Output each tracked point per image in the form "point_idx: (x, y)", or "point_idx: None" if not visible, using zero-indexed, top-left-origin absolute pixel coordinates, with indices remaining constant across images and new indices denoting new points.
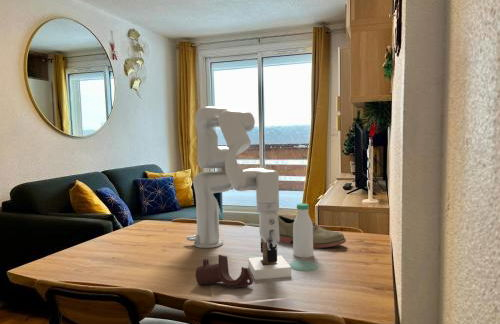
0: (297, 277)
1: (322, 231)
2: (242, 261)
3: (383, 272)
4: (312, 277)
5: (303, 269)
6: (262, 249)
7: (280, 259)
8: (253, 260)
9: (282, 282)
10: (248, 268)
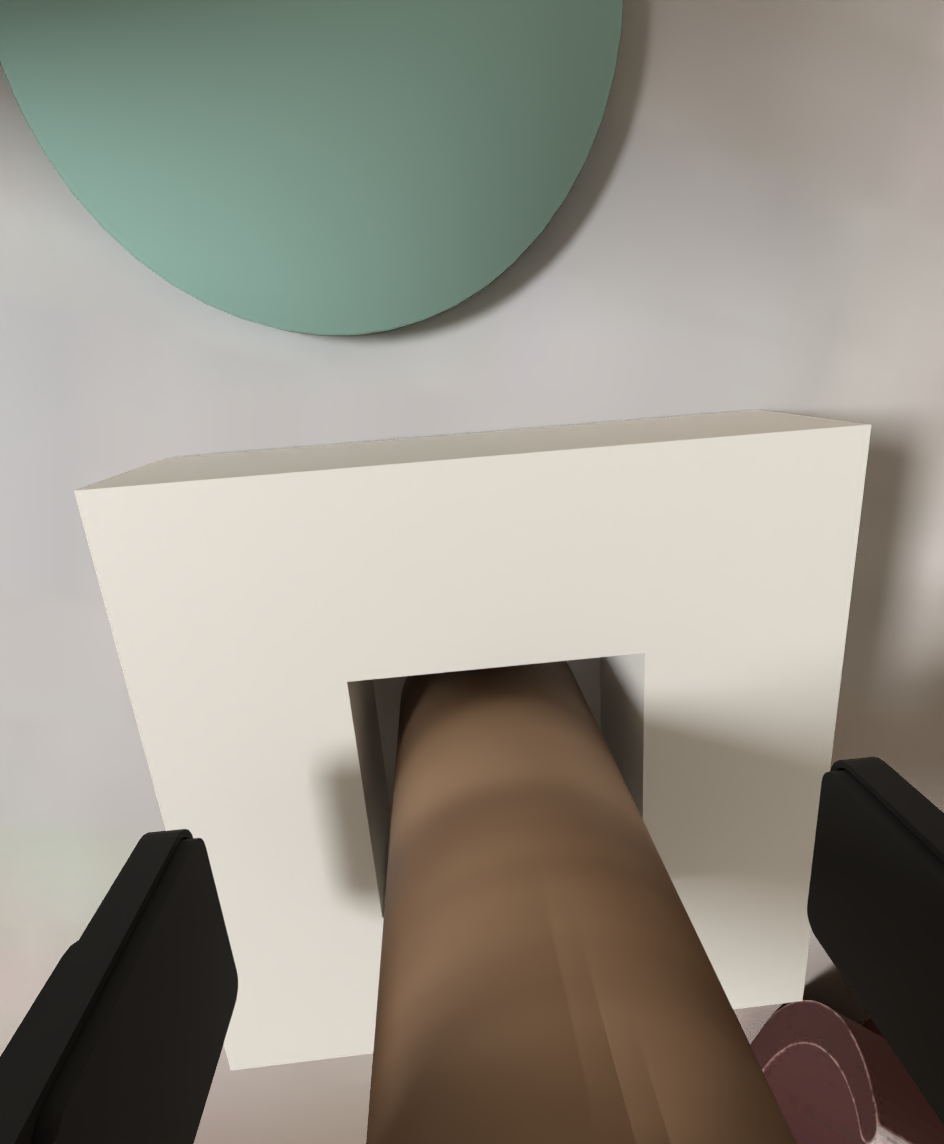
0: (773, 300)
1: None
2: (3, 986)
3: None
4: (855, 2)
5: (538, 79)
6: (211, 1050)
7: (370, 557)
8: (363, 1005)
9: (873, 569)
10: (897, 1135)
